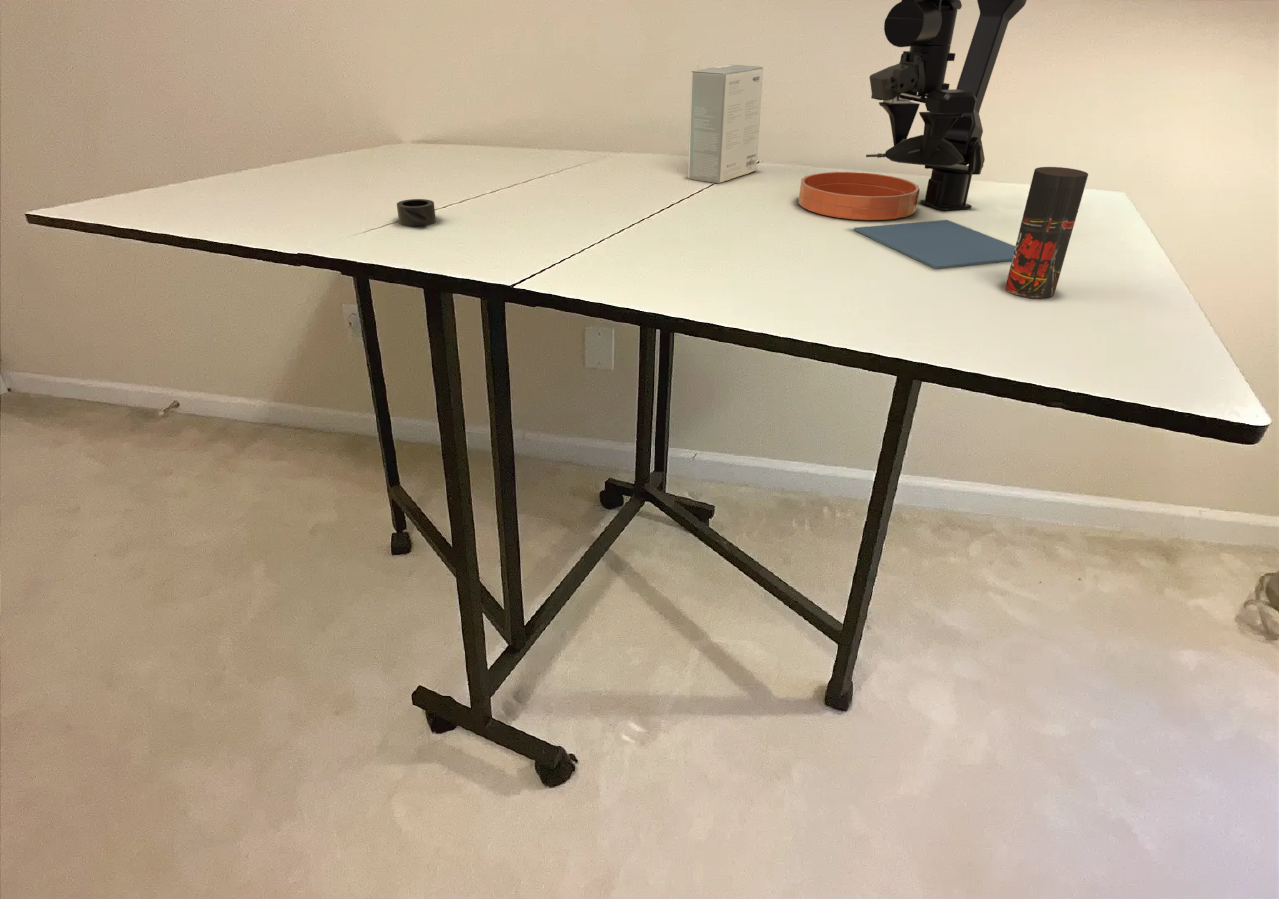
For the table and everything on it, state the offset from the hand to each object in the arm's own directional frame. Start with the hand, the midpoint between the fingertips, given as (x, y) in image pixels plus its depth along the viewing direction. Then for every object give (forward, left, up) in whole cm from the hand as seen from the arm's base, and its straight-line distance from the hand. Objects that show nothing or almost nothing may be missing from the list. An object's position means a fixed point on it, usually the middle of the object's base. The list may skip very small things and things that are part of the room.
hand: (910, 155), depth 127 cm
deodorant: (+3, +33, -11) cm, 35 cm away
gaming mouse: (-1, 0, -1) cm, 1 cm away
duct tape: (+75, -24, -11) cm, 79 cm away
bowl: (0, -13, -11) cm, 17 cm away
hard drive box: (+12, -44, -11) cm, 47 cm away
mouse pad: (0, +11, -11) cm, 16 cm away
